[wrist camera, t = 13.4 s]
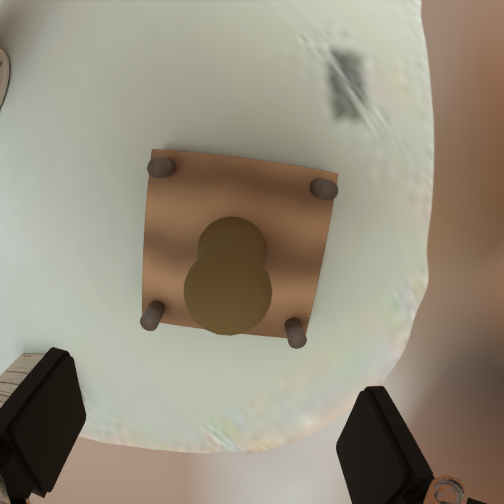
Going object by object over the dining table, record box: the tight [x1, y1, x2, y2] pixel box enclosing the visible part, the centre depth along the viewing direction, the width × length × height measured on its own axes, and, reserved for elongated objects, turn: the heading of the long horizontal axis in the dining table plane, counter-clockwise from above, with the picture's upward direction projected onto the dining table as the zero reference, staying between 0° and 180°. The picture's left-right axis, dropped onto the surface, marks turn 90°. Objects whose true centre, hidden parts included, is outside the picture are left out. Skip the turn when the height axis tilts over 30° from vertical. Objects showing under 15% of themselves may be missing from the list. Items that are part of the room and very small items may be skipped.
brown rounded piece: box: [184, 216, 273, 335], centre depth 22 cm, size 6×6×11 cm
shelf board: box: [140, 149, 338, 349], centre depth 27 cm, size 16×16×6 cm
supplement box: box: [0, 354, 45, 408], centre depth 28 cm, size 7×7×13 cm
